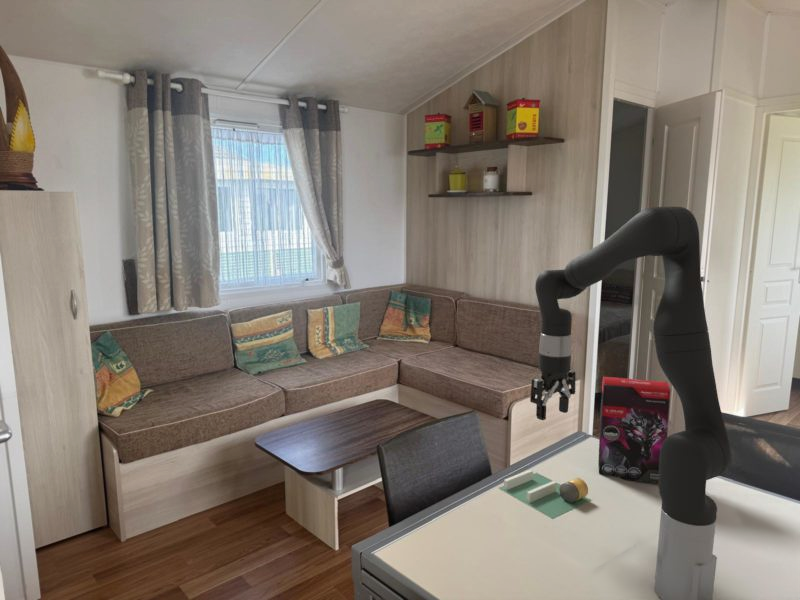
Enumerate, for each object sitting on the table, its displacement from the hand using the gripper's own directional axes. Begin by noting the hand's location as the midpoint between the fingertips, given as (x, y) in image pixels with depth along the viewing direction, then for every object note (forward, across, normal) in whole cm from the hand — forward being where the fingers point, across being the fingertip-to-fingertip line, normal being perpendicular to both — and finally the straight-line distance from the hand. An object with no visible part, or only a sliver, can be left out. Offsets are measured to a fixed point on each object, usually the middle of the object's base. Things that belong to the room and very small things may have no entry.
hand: (552, 415), depth 139 cm
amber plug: (+22, +5, -4) cm, 23 cm away
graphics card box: (+23, +29, -4) cm, 38 cm away
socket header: (+23, 0, +6) cm, 24 cm away
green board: (+23, +1, +2) cm, 23 cm away
